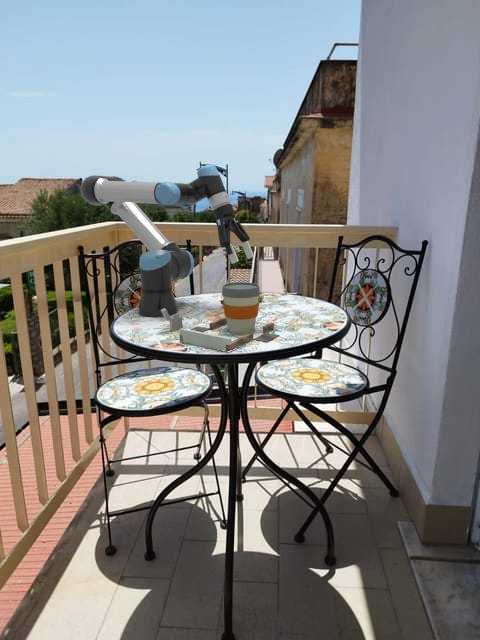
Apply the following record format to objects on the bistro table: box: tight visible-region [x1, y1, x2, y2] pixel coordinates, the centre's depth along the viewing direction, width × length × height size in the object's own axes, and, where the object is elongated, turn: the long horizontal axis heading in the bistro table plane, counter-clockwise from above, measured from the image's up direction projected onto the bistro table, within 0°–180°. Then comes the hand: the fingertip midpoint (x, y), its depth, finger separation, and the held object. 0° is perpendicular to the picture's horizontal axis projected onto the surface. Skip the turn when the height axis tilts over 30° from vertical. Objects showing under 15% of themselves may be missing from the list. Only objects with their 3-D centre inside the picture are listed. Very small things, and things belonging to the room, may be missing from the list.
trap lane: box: [179, 316, 280, 351], centre depth 137 cm, size 27×28×2 cm
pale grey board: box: [178, 328, 233, 352], centre depth 126 cm, size 1×18×4 cm, turn 57°
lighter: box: [161, 308, 184, 332], centre depth 141 cm, size 7×2×8 cm, turn 126°
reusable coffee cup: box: [221, 281, 261, 335], centre depth 141 cm, size 13×12×15 cm
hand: (243, 260), depth 160 cm, fingers open, 13 cm apart
